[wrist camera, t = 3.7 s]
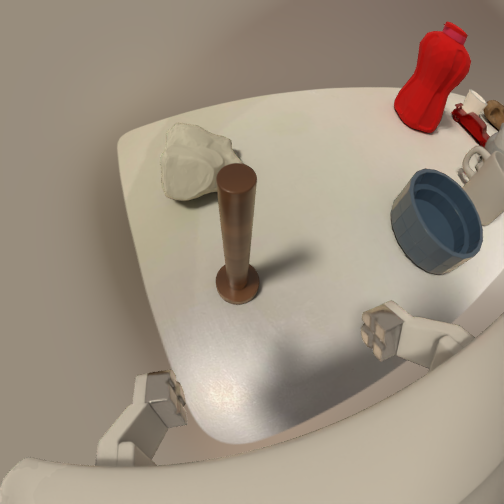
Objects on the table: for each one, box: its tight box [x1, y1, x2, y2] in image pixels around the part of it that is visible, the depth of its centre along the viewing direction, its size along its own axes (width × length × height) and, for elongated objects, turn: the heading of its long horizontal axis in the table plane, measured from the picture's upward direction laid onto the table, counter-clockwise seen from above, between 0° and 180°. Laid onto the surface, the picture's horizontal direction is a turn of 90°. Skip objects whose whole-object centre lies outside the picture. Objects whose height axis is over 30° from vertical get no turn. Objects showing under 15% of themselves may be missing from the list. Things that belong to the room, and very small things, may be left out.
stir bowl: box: [391, 169, 483, 275], centre depth 30 cm, size 13×13×6 cm
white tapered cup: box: [462, 89, 487, 115], centre depth 49 cm, size 7×7×7 cm
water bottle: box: [394, 22, 471, 133], centre depth 33 cm, size 9×11×25 cm
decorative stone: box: [160, 123, 242, 200], centre depth 31 cm, size 11×9×10 cm
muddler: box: [216, 163, 259, 305], centre depth 21 cm, size 4×4×17 cm
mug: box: [462, 146, 504, 226], centre depth 32 cm, size 12×8×11 cm
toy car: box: [451, 103, 490, 148], centre depth 44 cm, size 14×6×5 cm, turn 33°
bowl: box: [484, 100, 504, 130], centre depth 49 cm, size 18×14×10 cm
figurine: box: [476, 123, 504, 171], centre depth 34 cm, size 10×9×15 cm
